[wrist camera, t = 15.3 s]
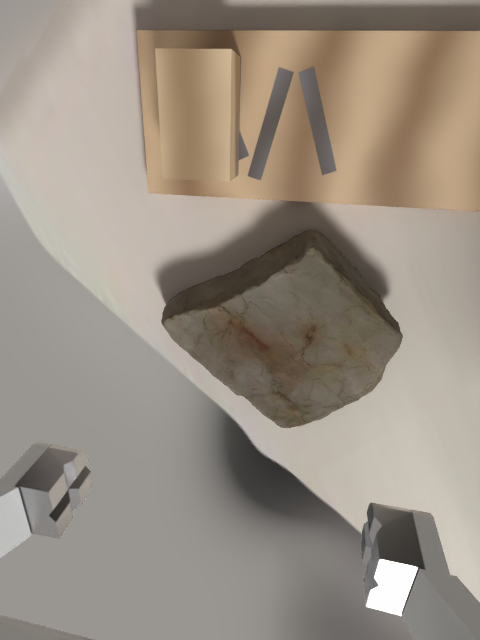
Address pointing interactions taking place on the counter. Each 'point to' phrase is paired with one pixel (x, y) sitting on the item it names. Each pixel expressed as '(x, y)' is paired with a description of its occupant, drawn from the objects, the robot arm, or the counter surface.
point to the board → (339, 116)
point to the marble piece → (289, 331)
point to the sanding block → (199, 113)
